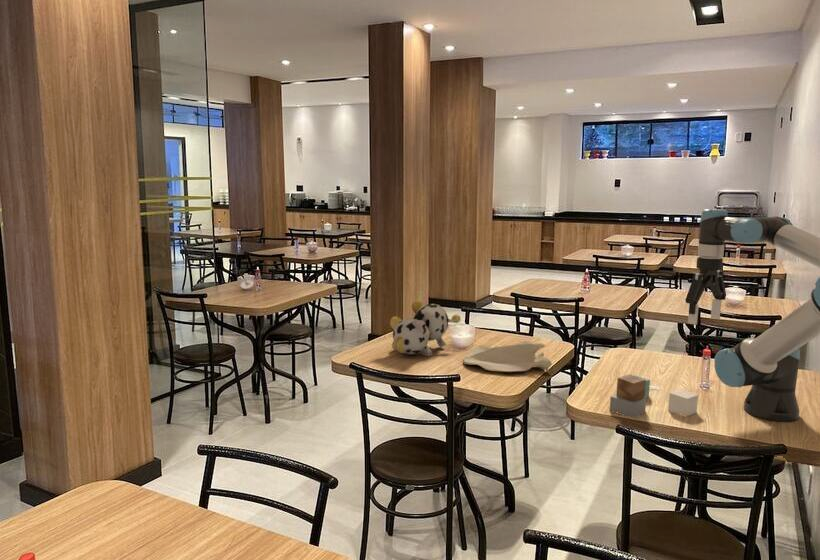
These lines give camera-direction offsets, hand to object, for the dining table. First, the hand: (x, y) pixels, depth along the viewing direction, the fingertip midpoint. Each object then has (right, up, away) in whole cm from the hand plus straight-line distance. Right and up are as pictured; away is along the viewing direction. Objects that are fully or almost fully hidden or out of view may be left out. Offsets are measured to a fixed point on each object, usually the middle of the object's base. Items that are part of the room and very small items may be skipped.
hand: (703, 321), depth 199 cm
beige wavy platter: (-61, -21, +37) cm, 74 cm away
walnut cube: (-27, -23, -8) cm, 37 cm away
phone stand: (-14, -25, +16) cm, 33 cm away
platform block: (-28, -28, -7) cm, 40 cm away
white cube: (-10, -28, -7) cm, 31 cm away
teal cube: (-20, -26, +7) cm, 33 cm away
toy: (-93, -17, +56) cm, 110 cm away
